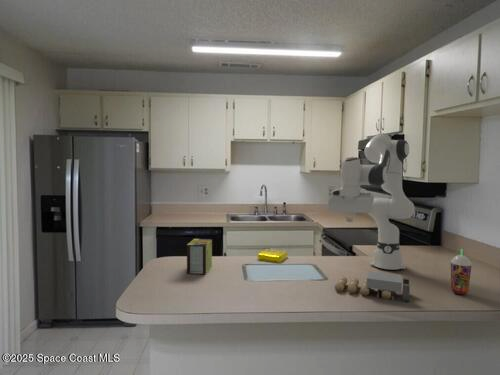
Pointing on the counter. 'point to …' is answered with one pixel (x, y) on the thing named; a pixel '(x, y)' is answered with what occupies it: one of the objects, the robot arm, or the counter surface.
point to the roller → (386, 294)
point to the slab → (384, 281)
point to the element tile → (272, 255)
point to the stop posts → (406, 289)
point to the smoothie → (460, 274)
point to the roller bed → (355, 287)
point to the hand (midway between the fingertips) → (349, 221)
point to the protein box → (199, 256)
